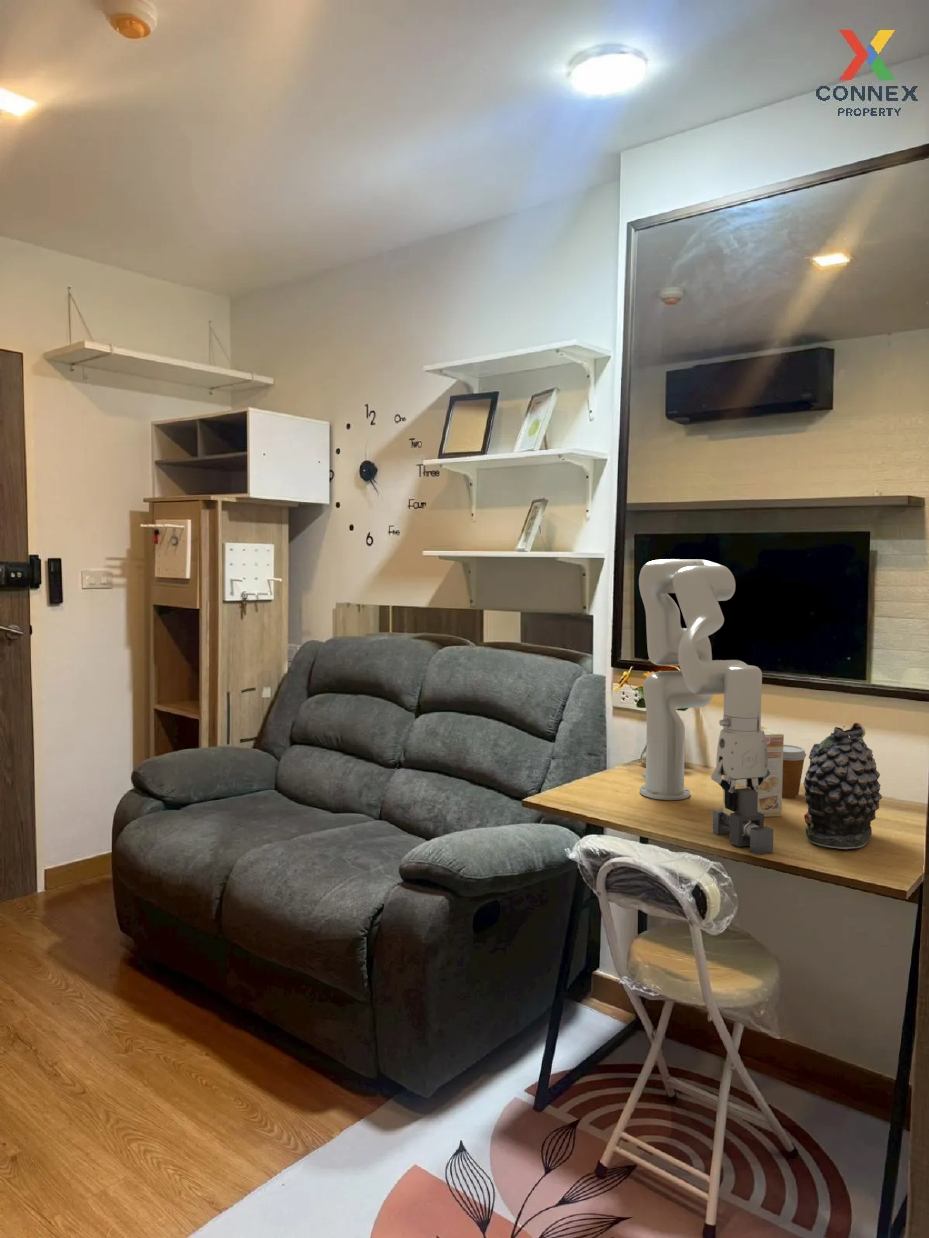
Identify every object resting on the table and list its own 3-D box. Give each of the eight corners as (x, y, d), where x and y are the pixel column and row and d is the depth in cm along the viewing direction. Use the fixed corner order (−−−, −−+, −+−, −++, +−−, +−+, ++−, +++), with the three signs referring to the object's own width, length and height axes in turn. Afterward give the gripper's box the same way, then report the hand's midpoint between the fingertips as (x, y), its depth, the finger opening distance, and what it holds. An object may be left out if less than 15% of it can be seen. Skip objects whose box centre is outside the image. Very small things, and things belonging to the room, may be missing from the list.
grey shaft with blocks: (712, 832, 183) (713, 809, 182) (728, 830, 184) (728, 807, 183) (756, 854, 168) (756, 830, 168) (772, 852, 170) (773, 828, 169)
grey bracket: (729, 841, 175) (730, 789, 174) (754, 838, 177) (755, 787, 176) (738, 846, 172) (739, 793, 171) (763, 843, 174) (764, 791, 173)
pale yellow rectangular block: (734, 817, 175) (734, 789, 175) (723, 812, 179) (723, 784, 178) (750, 815, 176) (750, 787, 176) (738, 810, 180) (738, 783, 180)
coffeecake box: (782, 816, 194) (785, 734, 192) (754, 817, 193) (756, 735, 191) (751, 798, 208) (753, 721, 207) (725, 799, 207) (726, 722, 206)
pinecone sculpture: (814, 820, 191) (817, 713, 189) (886, 832, 182) (890, 720, 181) (791, 845, 174) (794, 728, 172) (869, 860, 165) (874, 736, 164)
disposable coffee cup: (809, 800, 206) (810, 753, 206) (769, 798, 208) (770, 751, 207) (800, 790, 216) (801, 744, 215) (762, 788, 217) (763, 743, 216)
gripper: (718, 729, 169) (716, 817, 170) (786, 724, 174) (784, 809, 175) (697, 722, 176) (695, 807, 177) (763, 718, 181) (761, 800, 182)
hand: (740, 807), depth 176 cm, fingers closed on pale yellow rectangular block, 4 cm apart
